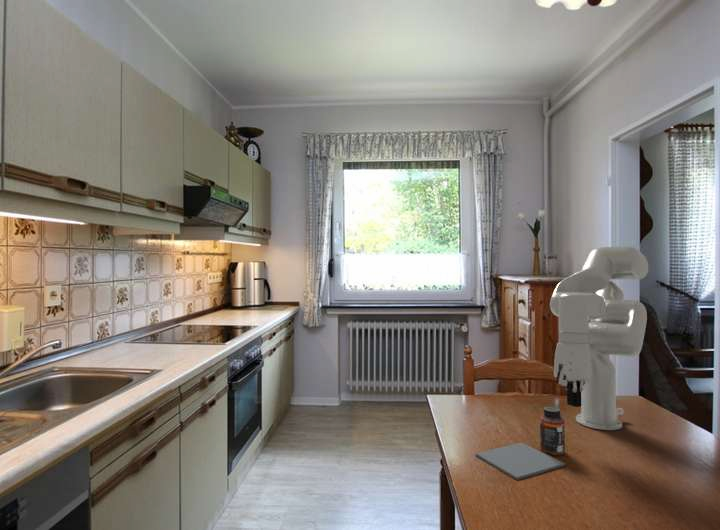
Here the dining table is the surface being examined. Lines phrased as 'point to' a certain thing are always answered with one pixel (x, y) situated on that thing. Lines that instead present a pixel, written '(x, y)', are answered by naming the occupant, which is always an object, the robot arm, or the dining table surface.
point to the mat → (519, 460)
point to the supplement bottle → (552, 432)
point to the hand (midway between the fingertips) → (574, 405)
